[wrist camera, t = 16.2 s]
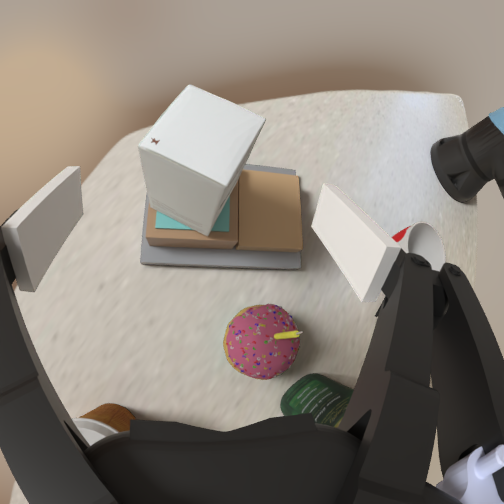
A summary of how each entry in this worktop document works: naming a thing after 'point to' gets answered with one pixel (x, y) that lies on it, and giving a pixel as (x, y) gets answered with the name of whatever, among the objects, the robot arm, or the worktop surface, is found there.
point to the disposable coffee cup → (103, 422)
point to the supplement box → (197, 156)
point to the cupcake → (262, 341)
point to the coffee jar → (317, 399)
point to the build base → (235, 227)
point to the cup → (423, 243)
